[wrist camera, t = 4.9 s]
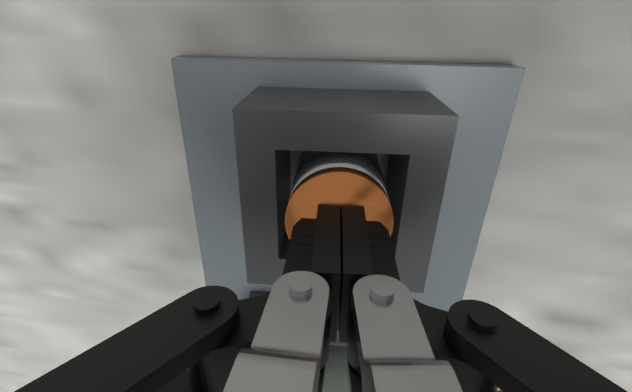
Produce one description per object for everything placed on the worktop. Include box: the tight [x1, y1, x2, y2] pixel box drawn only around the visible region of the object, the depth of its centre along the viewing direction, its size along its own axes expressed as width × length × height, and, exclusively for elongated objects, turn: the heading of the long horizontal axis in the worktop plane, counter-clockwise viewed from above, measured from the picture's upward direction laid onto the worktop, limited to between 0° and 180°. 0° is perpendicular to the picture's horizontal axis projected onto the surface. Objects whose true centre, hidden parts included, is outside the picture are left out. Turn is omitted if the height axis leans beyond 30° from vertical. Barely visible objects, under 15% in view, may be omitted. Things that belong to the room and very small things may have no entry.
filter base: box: [171, 56, 525, 346], centre depth 18 cm, size 25×14×5 cm, turn 179°
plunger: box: [285, 151, 394, 240], centre depth 14 cm, size 4×4×5 cm
